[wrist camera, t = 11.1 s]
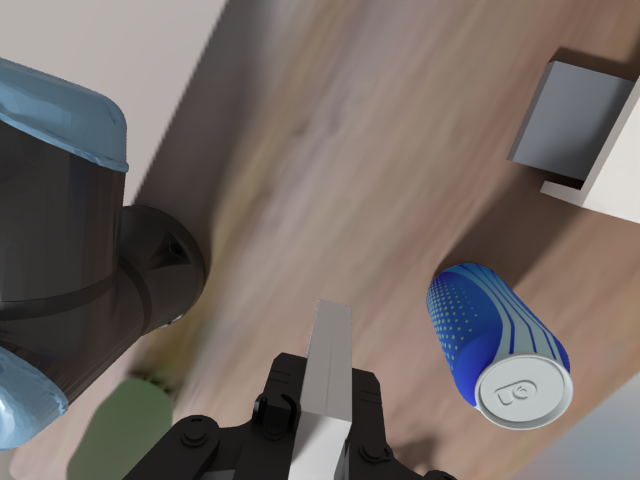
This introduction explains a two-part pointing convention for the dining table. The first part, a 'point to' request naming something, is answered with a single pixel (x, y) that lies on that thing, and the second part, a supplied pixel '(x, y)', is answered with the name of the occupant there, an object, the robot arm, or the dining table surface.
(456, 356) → the beer can
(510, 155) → the tile
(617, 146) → the overhang
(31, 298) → the robot arm
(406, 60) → the dining table surface
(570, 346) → the dining table surface
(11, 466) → the dining table surface
